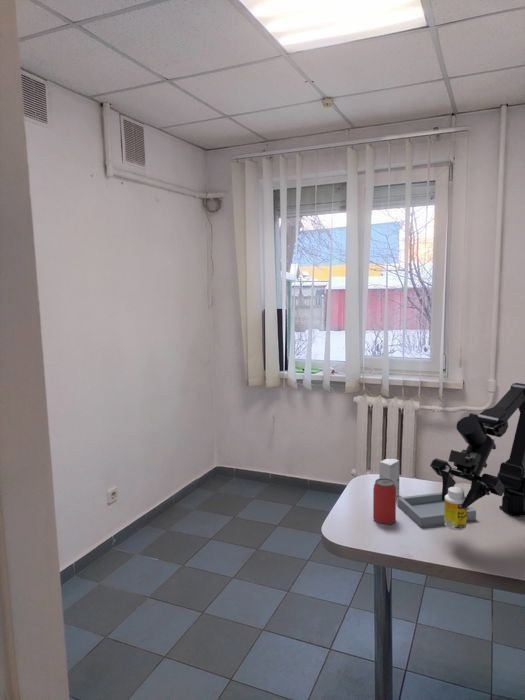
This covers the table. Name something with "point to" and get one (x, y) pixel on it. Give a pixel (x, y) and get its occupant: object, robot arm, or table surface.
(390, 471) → the skincare box
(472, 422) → the robot arm
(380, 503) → the beer can
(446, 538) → the table surface
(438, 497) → the sorting tray
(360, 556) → the table surface
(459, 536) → the table surface
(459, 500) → the supplement bottle
